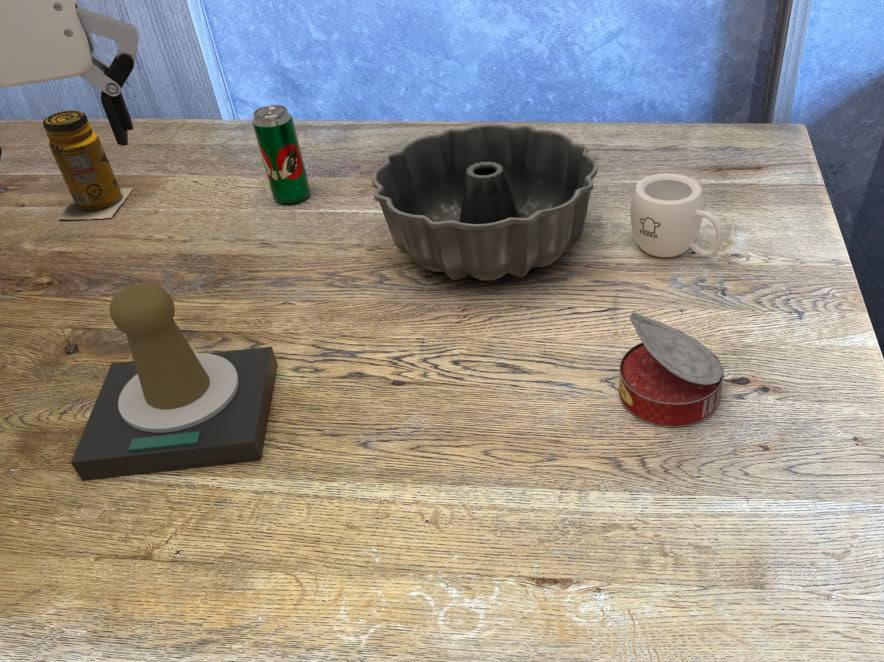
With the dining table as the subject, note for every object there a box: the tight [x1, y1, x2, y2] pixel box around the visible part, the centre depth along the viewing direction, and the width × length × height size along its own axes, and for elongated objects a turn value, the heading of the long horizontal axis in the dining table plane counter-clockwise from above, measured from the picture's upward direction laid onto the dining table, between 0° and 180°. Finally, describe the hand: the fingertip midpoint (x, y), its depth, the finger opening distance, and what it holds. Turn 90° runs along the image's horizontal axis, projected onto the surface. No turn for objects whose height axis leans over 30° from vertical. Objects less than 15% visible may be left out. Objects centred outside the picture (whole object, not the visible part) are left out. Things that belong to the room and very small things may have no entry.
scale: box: [70, 346, 278, 481], centre depth 78 cm, size 16×14×3 cm
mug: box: [630, 172, 723, 258], centre depth 96 cm, size 12×8×8 cm
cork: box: [108, 283, 210, 410], centre depth 75 cm, size 6×6×11 cm
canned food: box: [618, 312, 725, 428], centre depth 78 cm, size 11×10×10 cm
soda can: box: [252, 104, 311, 205], centre depth 108 cm, size 5×5×12 cm
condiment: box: [42, 109, 134, 221], centre depth 109 cm, size 7×8×12 cm
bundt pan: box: [371, 123, 599, 282], centre depth 98 cm, size 26×26×10 cm
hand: (61, 149), depth 67 cm, fingers open, 9 cm apart
